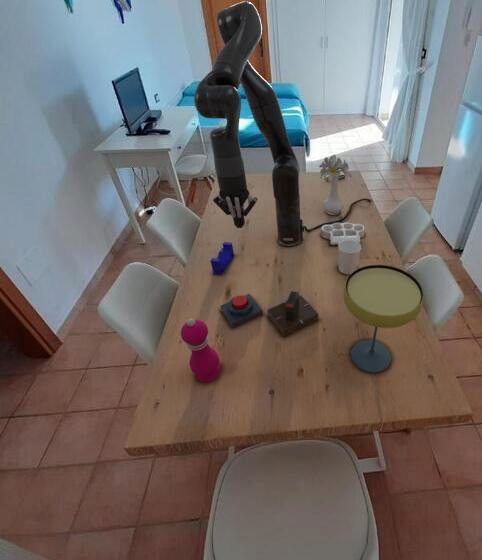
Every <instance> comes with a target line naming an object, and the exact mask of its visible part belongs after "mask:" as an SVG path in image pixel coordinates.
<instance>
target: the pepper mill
mask: <svg viewBox="0 0 482 560" xmlns="http://www.w3.org/2000/svg"><path fill="white" fill-rule="evenodd" d="M208 335H209V328H208V326H207V324H206V323H205V322H204V321H203V320H201V319H194V318H192V317H191V318H189V319H187V321H186V322H185V323H184V324H183V325H182V327H181V329H180V337H181V340H182V342H184V343H185V344H186V346H187V349H189V350H190V351H191V355H190V358H189V368H190V370H191V371H192V373H193V374H194V376H195V378H196V379H197V380H198V381H199V382H201V383H209V382H212V381H214V380H216V379H217V378H218V377H219V375H220V373H221V367H220V361H221V359H220V356H219V353H218V352H217V350H215V349H214V348H213V347H211V346H210V345H209V341H210V340H209V336H208Z"/></svg>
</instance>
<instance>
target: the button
mask: <svg viewBox="0 0 482 560" xmlns="http://www.w3.org/2000/svg"><path fill="white" fill-rule="evenodd" d="M234 297H235V298H234ZM234 297H233V298H234V299H233V300H232V303H233V307H234V308H235V309H243V308H245V307H246V306H247V305H248V302H247V298H246V297H245V296H241V295H236V296H234Z"/></svg>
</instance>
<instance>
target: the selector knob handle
mask: <svg viewBox="0 0 482 560" xmlns="http://www.w3.org/2000/svg"><path fill="white" fill-rule="evenodd" d="M299 295H300V292H299V291H293V290H291V291H290V292H289V296H288V298H287V300H286V301H287V303H286V306H285V313H286V319H288V320H294V318H295V315H296V312H297V309H298V306H299Z"/></svg>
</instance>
